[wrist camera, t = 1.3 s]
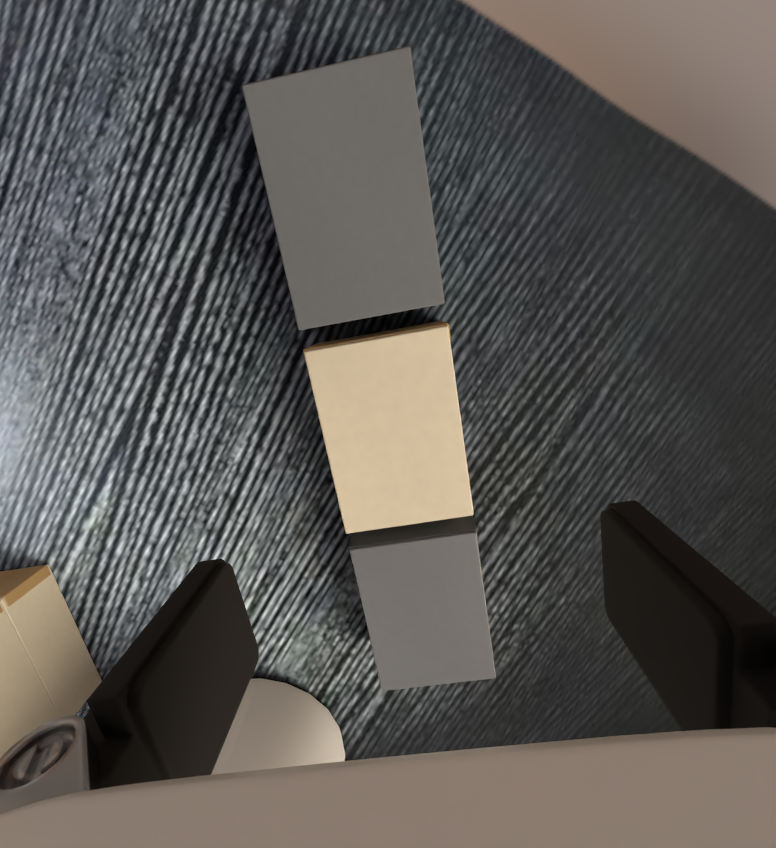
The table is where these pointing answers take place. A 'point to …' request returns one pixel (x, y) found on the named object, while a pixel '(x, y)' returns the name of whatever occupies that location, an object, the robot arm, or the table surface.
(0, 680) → the cream book pile middle
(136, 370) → the table surface
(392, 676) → the grey book
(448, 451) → the cream book
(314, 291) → the grey book
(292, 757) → the can
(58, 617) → the beige rectangular block
